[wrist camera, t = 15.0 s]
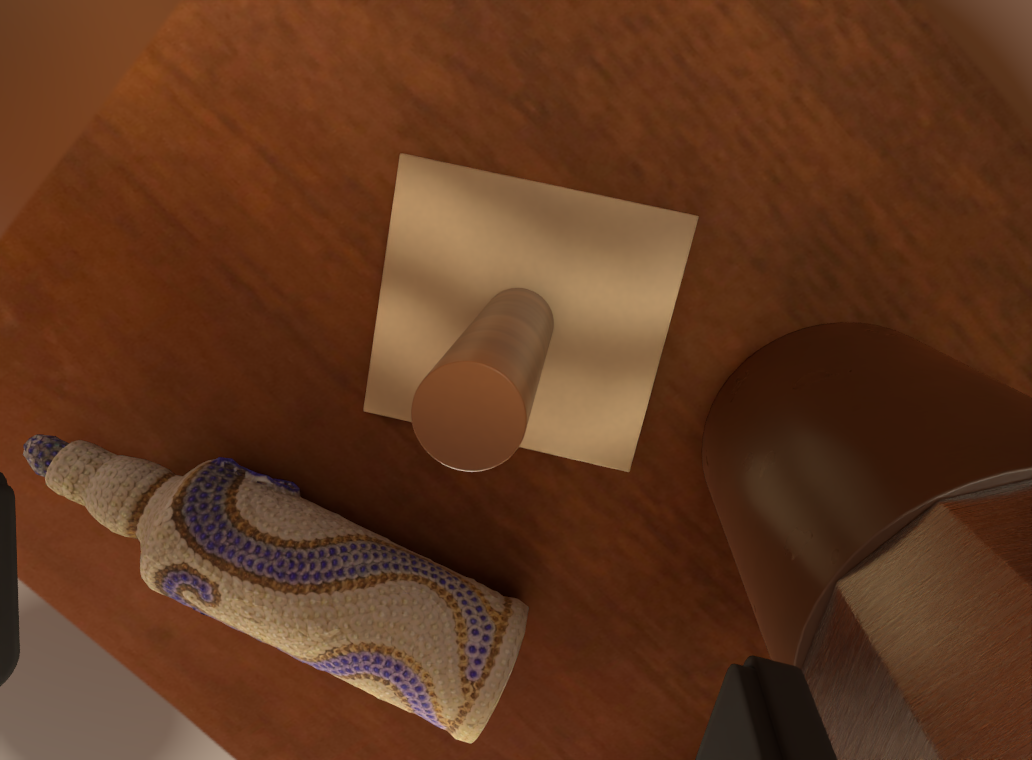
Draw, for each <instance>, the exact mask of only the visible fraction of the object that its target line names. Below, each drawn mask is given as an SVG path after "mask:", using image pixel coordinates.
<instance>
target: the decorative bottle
mask: <svg viewBox="0 0 1032 760" xmlns="http://www.w3.org/2000/svg"><path fill="white" fill-rule="evenodd" d="M23 455H24V456H25V457H26V459H27V461H28V463H29V465H30V466H31V468H32V469H33V470H34V471H35V473H36V474H37V475H40V476H44V477H45V480H46V485H47V486H48V487H49V488H51V489H52V490H53V491H54V492H56V493H57V494H58V495H62V496H65V497H66V498H67V499H69V500H72V501H74V502H77V503H79V504H82V505H84V506H86V508H87V509H88V511H89V512H90V514H91V515H92V516H93V517H94V518H95V519H96V520H97V521H98V522H99V523H100V524H102V525H104V526H105V527H107V528H109V529H110V530H111V531H112V532H114V533H117V534H120V535H122V536H125V537H131V538H135V539H138V540H139V541H140V543H141V556H140V571H141V576H142V578H143V580H144V581H145V582H146V584H147V585H148V586H149V588H150V589H152V590H154V591H156V592H158V593H161V594H163V595H165V596H168V597H170V598H173V599H175V600H176V601H178V602H180V603H181V604H184V605H186V606H189V607H191V608H193V609H194V610H196V611H198V612H200V613H201V614H203V615H206V616H210V617H212V618H214V619H217V620H219V621H221V622H223V623H225V624H226V625H228V626H230V627H231V628H233V629H236V630H239V631H241V632H243V633H246V634H248V635H250V636H252V637H254V638H255V639H257V640H259V641H260V642H263V643H267V644H269V645H272V646H274V647H276V648H277V649H279V650H281V651H283V652H285V653H287V654H289V655H291V656H292V657H294V658H296V659H297V660H299V661H301V662H303V663H307V664H309V665H311V666H313V667H315V668H316V669H318V670H322V671H327V672H329V673H330V674H332V675H334V676H336V677H338V678H340V679H342V680H344V681H346V682H348V683H350V684H352V685H354V686H355V687H359V688H361V689H362V690H364V691H366V692H368V693H370V694H372V695H374V696H376V697H377V698H378V699H381V700H383V701H386V702H389V703H391V704H393V705H396V706H398V707H400V708H401V709H403V710H406V711H408V712H411V713H415V714H417V715H419V716H421V717H422V718H424V719H426V720H427V721H429V722H430V723H432V724H434V725H435V726H437V727H439V728H442V729H445V730H447V731H448V732H449V733H450V734H451V735H452V736H453V737H454V738H455V739H457V740H461V741H464V742H467V743H472V742H474V741H475V740H476V739H477V738H478V736H479V735H480V733H481V732H482V730H483V729H484V727H485V725H486V724H487V722H488V720H489V718H490V716H491V714H492V713H493V711H494V709H495V707H496V705H497V703H498V701H499V699H500V697H501V694H502V692H503V690H504V688H505V686H506V684H507V681H508V679H509V677H510V674H511V672H512V669H513V667H514V664H515V661H516V659H517V656H518V653H519V650H520V646H521V643H522V640H523V637H524V634H525V627H526V621H527V616H528V610H529V607H528V606H527V605H525V604H524V603H523V602H522V601H520V600H519V599H517V598H511V597H505V596H502V595H501V594H500V593H498V592H497V591H493V590H491V589H489V588H488V587H486V586H485V585H483V584H480V583H477V582H476V581H475V580H474V579H472V578H468V577H465V576H463V575H461V574H459V573H457V572H455V571H453V570H451V569H449V568H447V567H445V566H443V565H440V564H438V563H435V562H433V561H432V560H431V559H429V558H426V557H424V556H422V555H419V554H417V553H415V552H412V551H410V550H408V549H406V548H404V547H402V546H400V545H398V544H395V543H393V542H391V541H390V540H389V539H387V538H385V537H383V536H380V535H378V534H376V533H374V532H372V531H370V530H368V529H365V528H363V527H361V526H359V525H357V524H355V523H353V522H351V521H349V520H347V519H345V518H343V517H342V516H340V515H339V514H336V513H334V512H331V511H328V510H326V509H324V508H322V507H320V506H319V505H317V504H315V503H313V502H310V501H308V500H306V499H303V498H301V496H300V488H299V487H298V486H297V485H296V484H295V483H294V482H290V481H286V480H282V479H272V478H271V477H270V476H268V475H264V474H259V473H256V472H254V471H251V470H249V469H247V468H245V467H242V466H240V465H238V464H237V463H236V462H235V461H234V460H233V459H230V458H222V457H219V458H217V459H213V460H208V461H206V462H204V463H202V464H200V465H198V466H197V467H196V468H194V469H192V470H190V471H189V472H188V473H187V474H185V475H184V476H178V475H175V474H174V473H173V472H172V471H171V470H169V469H167V468H165V467H163V466H161V465H160V464H156V463H154V462H151V461H148V460H145V459H140V458H134V457H129V456H124V455H120V456H118V455H116V454H113V453H111V452H109V451H107V450H105V449H103V448H101V447H99V446H98V445H96V444H93V443H90V442H87V441H82V440H77V441H73V442H71V443H70V444H69V443H67V442H65V441H63V440H61V439H59V438H57V437H56V436H49V435H35V436H33V437H31V438H29V440H28V441H27V442H26V443H25V444H24V453H23ZM285 483H286V484H287V485H284V484H285ZM291 487H292V488H293V489H292V488H291Z"/></svg>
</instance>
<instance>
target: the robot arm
mask: <svg viewBox="0 0 1032 760" xmlns="http://www.w3.org/2000/svg"><path fill="white" fill-rule="evenodd" d="M18 613H19V612H18V580H17V548H16V516H15V495H14V491H13V489H12V488H11V487H10V486H8V485H7V480H6V478H5V476H4V475H3V473H1V472H0V686H1V685H2V684H3V683H4V682H5V681H6V680H7V679H8V678H9V677H10V675H11V674H12V672H13V671H14V669H15V667H16V665H17V662H18V659H19V653H20V643H19V615H18ZM695 760H837V757H836V755H835V752H834V750H833V747H832V745H831V742H830V740H829V737H828V734H827V732H826V729H825V727H824V724H823V722H822V719H821V717H820V714H819V712H818V709H817V707H816V704H815V702H814V699H813V696H812V694H811V691H810V689H809V686H808V684H807V681H806V679H805V676H804V674H803V672H802V671H801V669H800V668H798V667H797V666H793V665H789V664H785V663H781V662H777V661H773V660H769V659H765V658H761V657H757V656H749V657H748V658H747V660H746V661H745V663H744V665H743V666H741V665H737V664H731V666H730V667H729V668H728V670H727V673H726V675H725V678H724V681H723V683H722V686H721V689H720V692H719V695H718V697H717V700H716V703H715V706H714V709H713V711H712V714H711V717H710V720H709V722H708V725H707V728H706V731H705V734H704V736H703V739H702V742H701V745H700V748H699V750H698V753H697V756H696V759H695Z"/></svg>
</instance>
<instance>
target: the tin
mask: <svg viewBox="0 0 1032 760" xmlns="http://www.w3.org/2000/svg"><path fill="white" fill-rule="evenodd" d="M702 465H703V471H704V475H705V480H706V483H707V486H708V489H709V491H710V494H711V497H712V500H713V502H714V505H715V508H716V511H717V513H718V516H719V519H720V521H721V524H722V527H723V530H724V532H725V535H726V538H727V541H728V543H729V546H730V549H731V551H732V554H733V557H734V560H735V562H736V565H737V568H738V571H739V573H740V576H741V579H742V582H743V584H744V587H745V590H746V592H747V595H748V598H749V601H750V603H751V606H752V609H753V612H754V614H755V617H756V620H757V622H758V625H759V628H760V631H761V633H762V636H763V639H764V642H765V644H766V647H767V650H768V653H769V655H770V658H771V660H773V661H777V662H781V663H785V664H789V665H793V666H797V667H798V668H800V669H801V671H802V672H803V674H804V676H805V679H806V681H807V684H808V686H809V689H810V691H811V694H812V696H813V699H814V702H815V704H816V707H817V709H818V712H819V714H820V717H821V719H822V722H823V724H824V727H825V729H826V732H827V734H828V737H829V740H830V742H831V745H832V747H833V750H834V752H835V755H836V757H837V760H1032V398H1031V397H1029V396H1027V395H1025V394H1023V393H1021V392H1019V391H1017V390H1015V389H1013V388H1011V387H1009V386H1007V385H1005V384H1003V383H1001V382H999V381H997V380H995V379H993V378H991V377H989V376H987V375H985V374H983V373H981V372H979V371H977V370H975V369H973V368H971V367H969V366H967V365H965V364H963V363H961V362H959V361H957V360H955V359H953V358H951V357H949V356H947V355H945V354H943V353H941V352H939V351H937V350H935V349H933V348H931V347H929V346H927V345H926V344H924V343H922V342H920V341H918V340H916V339H914V338H912V337H909V336H907V335H905V334H902V333H900V332H898V331H896V330H892V329H889V328H885V327H882V326H878V325H871V324H865V323H846V322H840V323H830V324H822V325H817V326H813V327H808V328H804V329H801V330H799V331H796V332H793V333H790V334H787V335H785V336H783V337H781V338H779V339H777V340H775V341H773V342H771V343H769V344H768V345H766V346H765V347H763V348H762V349H760V350H759V351H757V352H755V353H754V354H753V355H752V356H751V357H749V358H748V359H747V360H746V361H745V362H744V363H742V364H741V365H740V366H739V367H738V369H737V370H736V371H735V372H734V373H733V374H732V375H731V376H730V377H729V379H728V380H727V381H726V383H725V384H724V386H723V387H722V388H721V390H720V391H719V393H718V395H717V397H716V399H715V401H714V403H713V404H712V407H711V409H710V412H709V415H708V417H707V420H706V424H705V429H704V433H703V441H702Z"/></svg>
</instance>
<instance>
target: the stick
mask: <svg viewBox="0 0 1032 760" xmlns="http://www.w3.org/2000/svg"><path fill="white" fill-rule="evenodd" d="M553 328H554V319H553V314H552V311H551V308H550V307H549V305H548V303H547V302H546V301H545V300H544V299H543V298H542V297H541V296H540V295H539V294H537V293H536V292H534V291H531V290H529V289H525V288H511V289H507V290H504V291H502V292H500V293H498V294H497V295H496V296H494V297H493V298H492V299H491V301H490V302H489V303H488V304H487V305H486V306H485V308H484V309H483V310H482V311H481V312H480V313H479V315H478V316H477V317H476V318H475V319H474V321H473V322H472V323H471V324H470V325H469V326H468V328H467V329H466V330H465V331H464V332H463V333H462V335H461V336H460V337H459V338H458V339H457V340H456V342H455V343H454V344H453V345H452V346H451V347H450V349H449V350H448V351H447V352H446V353H445V354H444V356H443V357H442V358H441V359H440V360H439V362H438V363H437V364H436V365H435V366H434V367H433V369H432V370H431V371H430V372H429V373H428V374H427V376H426V377H425V378H424V379H423V380H422V382H421V383H420V384H419V386H418V388H417V390H416V392H415V394H414V397H413V401H412V406H411V420H412V425H413V429H414V432H415V434H416V436H417V439H418V440H419V442H420V444H421V445H422V447H423V448H424V449H425V450H426V452H427V453H429V454H430V455H431V456H432V457H433V458H434V459H436V460H437V461H438V462H440V463H442V464H443V465H445V466H448V467H450V468H453V469H456V470H461V471H470V472H475V471H483V470H488V469H491V468H494V467H496V466H498V465H500V464H502V463H503V462H505V461H506V460H508V459H509V458H510V457H511V456H512V455H513V454H514V453H515V452H516V450H517V449H518V448H519V446H520V444H521V442H522V440H523V438H524V435H525V432H526V428H527V424H528V421H529V417H530V413H531V410H532V406H533V402H534V399H535V395H536V392H537V388H538V384H539V381H540V377H541V373H542V370H543V366H544V362H545V359H546V355H547V351H548V348H549V344H550V340H551V337H552V333H553Z"/></svg>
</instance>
